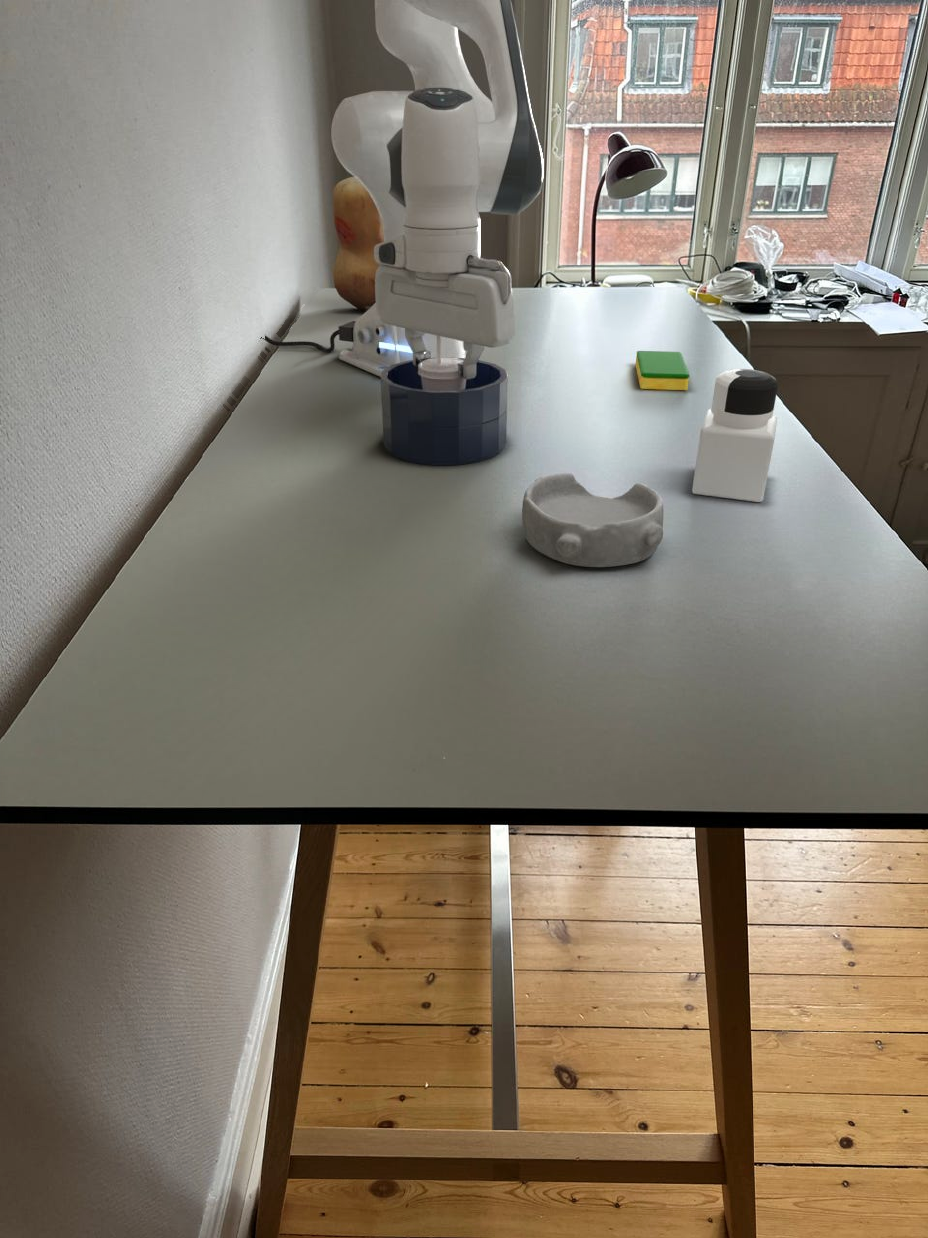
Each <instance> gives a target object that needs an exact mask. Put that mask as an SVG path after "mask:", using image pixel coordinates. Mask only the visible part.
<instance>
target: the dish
mask: <svg viewBox="0 0 928 1238" xmlns="http://www.w3.org/2000/svg"><path fill="white" fill-rule="evenodd" d="M664 511H665V510H664V502H663V499H662V497H661V495H660V494H659V493H658V492H657V491H656V490H655V489H653V488H651V487H649V486H648V485H646V484H643V483H641V482H640V483H639V482H637V483H634V485H633V486H632V487H631V488H630V489H628V491H627V492H625V493H624V494H622V495H619V496H616V497H611V498H610V497H603V496H599V495H595V494H593V493H591V492H590V491H589V490H588V489H586V488H585V487H584V486H583V485H582V484H581V483H580V482H579V481H578V480H577V479H576V477H575V475H574V474H572V473H567V472H564V473H556V474H550V475H546V476H540V477H538V478H537V479H535V480H534V481H533V482H532V483H531V484H530V485H529V486H528V487H527V488H526V490H525V491H524V495H523V499H522V507H521V524H522V530H523V533H524V537H525V539H526V540H527V542H528V544H529V545H530V546H531V547H532V548H533V549H534V550H536V551H537V552H539V553H541V554H543V555H544V556H546V557H548V558H550V559H553V560H555V561H558V562H560V563H564V564H567V565H572V566H578V567H587V568H611V567H618V566H626V565H632V564H636V563H640V562H642V561H644V560H647V559H648V558H650V557H651V556H652V555H653V554H654V553H655V552H656V551H657V548H658V547H659V545H660V544H661V543H662V540H663V537H664V529H663V528H664Z"/></svg>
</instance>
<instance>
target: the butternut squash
mask: <svg viewBox="0 0 928 1238" xmlns="http://www.w3.org/2000/svg"><path fill="white" fill-rule="evenodd" d="M332 208H333V221H334V227H335V231H336V234H337V237H338V243H339V246H338V247H339V248H338V251H337V255H336V258H335V261H334V266H333V274H332V275H333V276H332V277H333V284H334V288H335V290H336V293H337V294H338V295H339V297H340V298H342V299H343V300H344V301H346V302H347V303H349V304H350V305H352V306H354V307H355V308H356V309H359V310H363V311H367V310H369V309H370V308H371V307H372V306H373V305H374V304H375V303H376V297H375V275H376V270H377V268H378V267H379V266H380V265H381V264H378V263H377V262H376V261H375V258H374V247H375V246H376V245H377V244H379V243H382V242H384V236H383V228H382V223H381V219H380V215H379V212H378V210H377V207H376V205H375V203H374V201H373V199H372V197H371V196H370V194H369V192H368V191H367V190H366V188H365V187H364V186H363V185H362V184H361V182H360V181H359V180H358V179H356V178H355V177H354V176H349V177H347V178H344V179H342V180H340V181H339V182H338V183H337V184H336V185H335V186H334V189H333V192H332Z"/></svg>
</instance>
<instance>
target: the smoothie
mask: <svg viewBox="0 0 928 1238" xmlns="http://www.w3.org/2000/svg"><path fill="white" fill-rule="evenodd" d="M436 346H437V358H433V359H428V360H425V361H422V362H420V363H419V364H418V374H419V375H420V376H421V380H422V388H423V390H430V391H457V390H465V386H466V379H465V378H461V377H459V376H458V363H460V362H463V361H464V360H460V359H455V358H441V336H437V335H436Z"/></svg>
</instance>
